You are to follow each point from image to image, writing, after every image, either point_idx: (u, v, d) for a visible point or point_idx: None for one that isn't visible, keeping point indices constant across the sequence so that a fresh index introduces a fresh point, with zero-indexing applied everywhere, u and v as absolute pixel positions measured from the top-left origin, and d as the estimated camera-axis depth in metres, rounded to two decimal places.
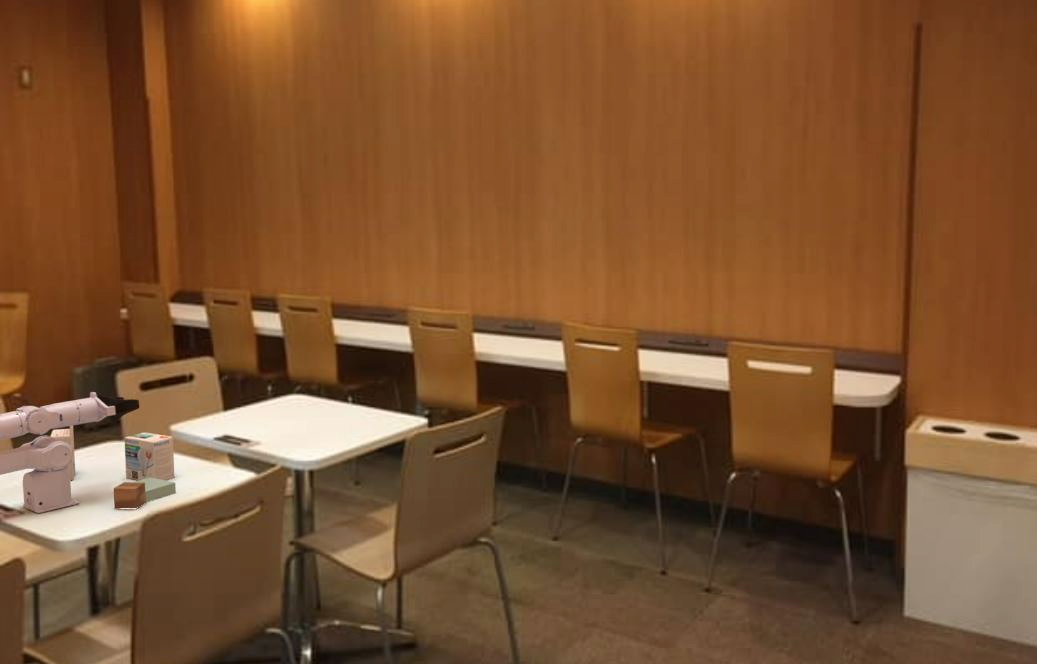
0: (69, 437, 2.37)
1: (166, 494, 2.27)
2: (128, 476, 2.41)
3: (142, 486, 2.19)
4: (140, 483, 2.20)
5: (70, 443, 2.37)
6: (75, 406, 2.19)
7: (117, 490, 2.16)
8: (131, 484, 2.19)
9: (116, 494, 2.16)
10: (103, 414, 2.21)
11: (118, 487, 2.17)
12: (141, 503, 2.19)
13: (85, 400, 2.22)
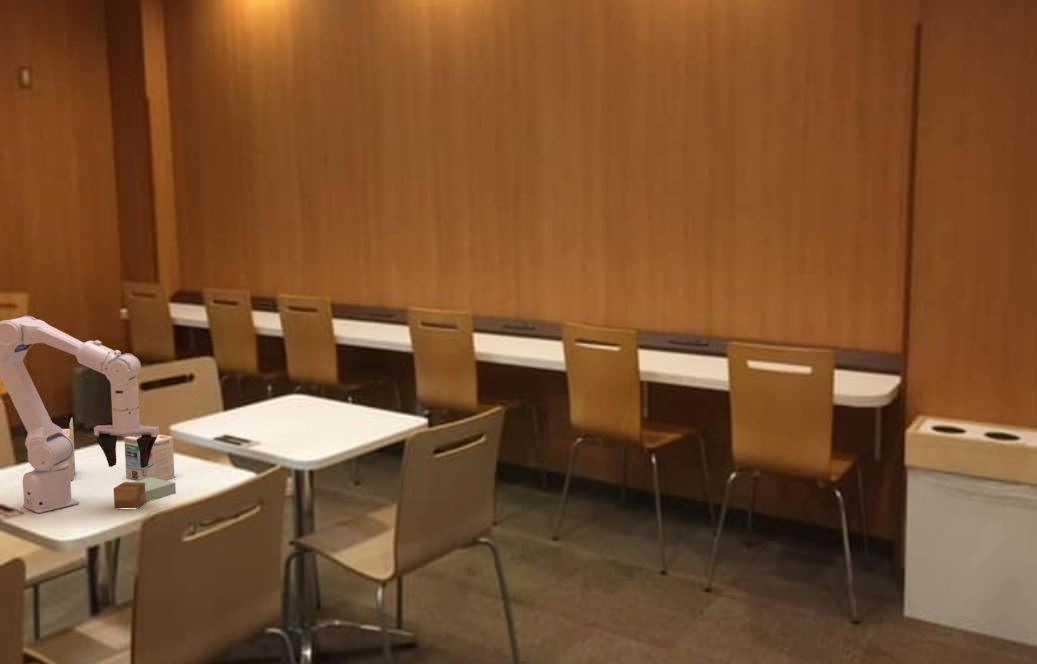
0: (69, 437, 2.37)
1: (166, 494, 2.27)
2: (128, 476, 2.41)
3: (142, 486, 2.19)
4: (140, 483, 2.20)
5: None
6: (129, 407, 2.14)
7: (117, 490, 2.16)
8: (131, 484, 2.19)
9: (116, 494, 2.16)
10: (144, 429, 2.15)
11: (118, 487, 2.17)
12: (141, 503, 2.19)
13: None
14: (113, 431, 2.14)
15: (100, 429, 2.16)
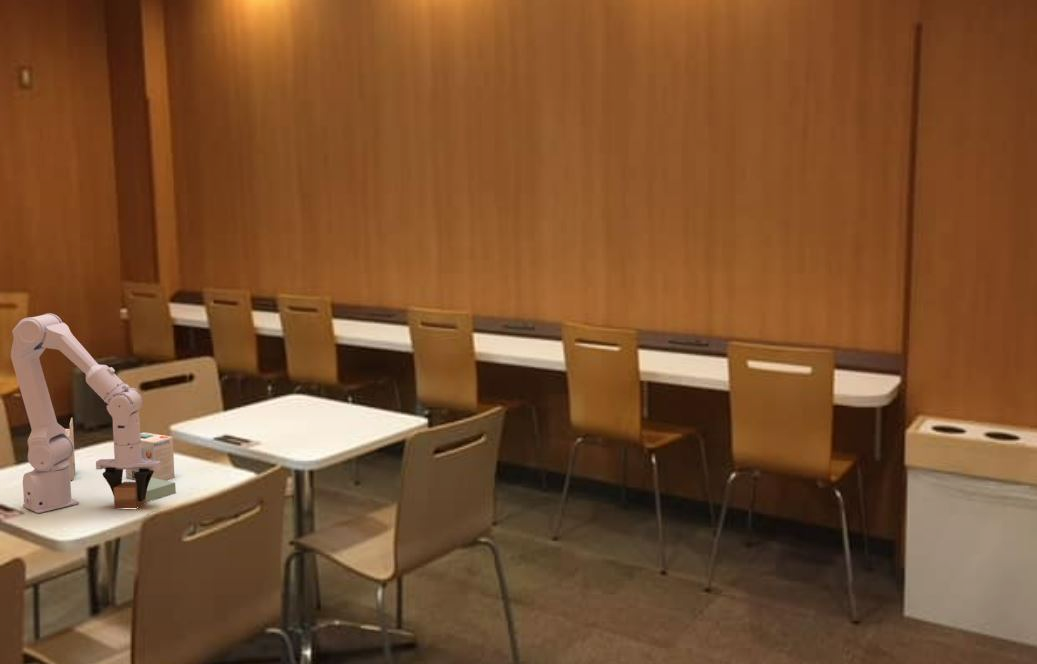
0: (69, 437, 2.37)
1: (166, 494, 2.27)
2: (128, 476, 2.41)
3: None
4: None
5: None
6: (131, 442, 2.15)
7: (117, 490, 2.16)
8: (131, 484, 2.19)
9: (116, 494, 2.16)
10: (146, 463, 2.16)
11: (118, 487, 2.17)
12: (141, 503, 2.19)
13: None
14: (115, 465, 2.15)
15: (102, 463, 2.17)
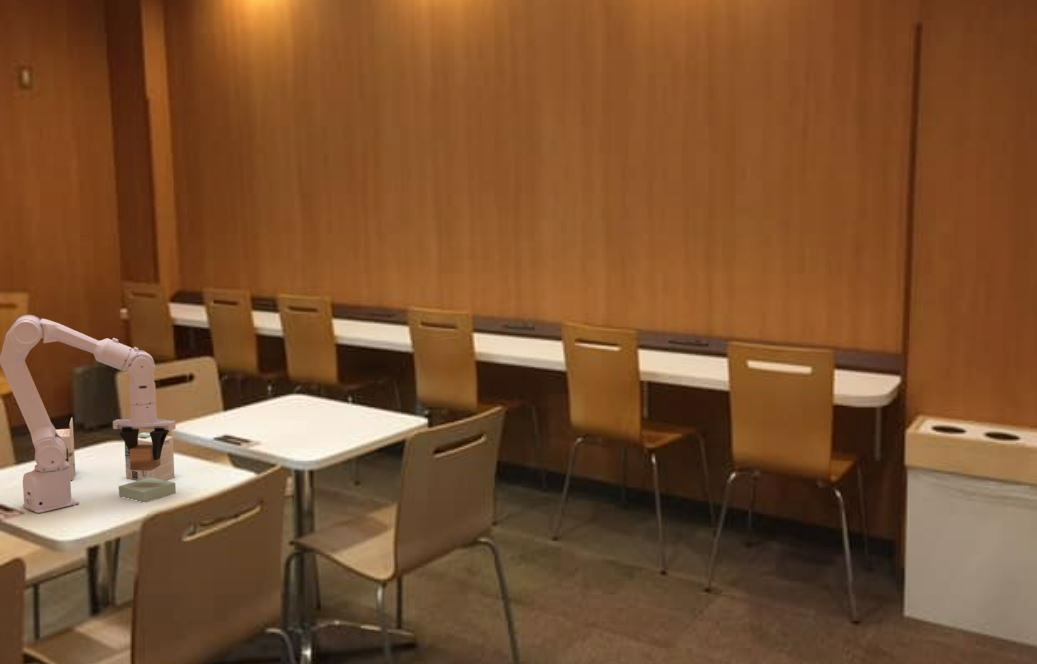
0: (69, 437, 2.37)
1: (166, 494, 2.27)
2: (128, 476, 2.41)
3: None
4: None
5: (70, 443, 2.37)
6: (152, 401, 2.23)
7: (133, 451, 2.23)
8: (146, 446, 2.26)
9: (132, 455, 2.23)
10: (161, 422, 2.24)
11: (134, 448, 2.24)
12: (156, 464, 2.26)
13: None
14: (131, 425, 2.23)
15: (119, 423, 2.24)
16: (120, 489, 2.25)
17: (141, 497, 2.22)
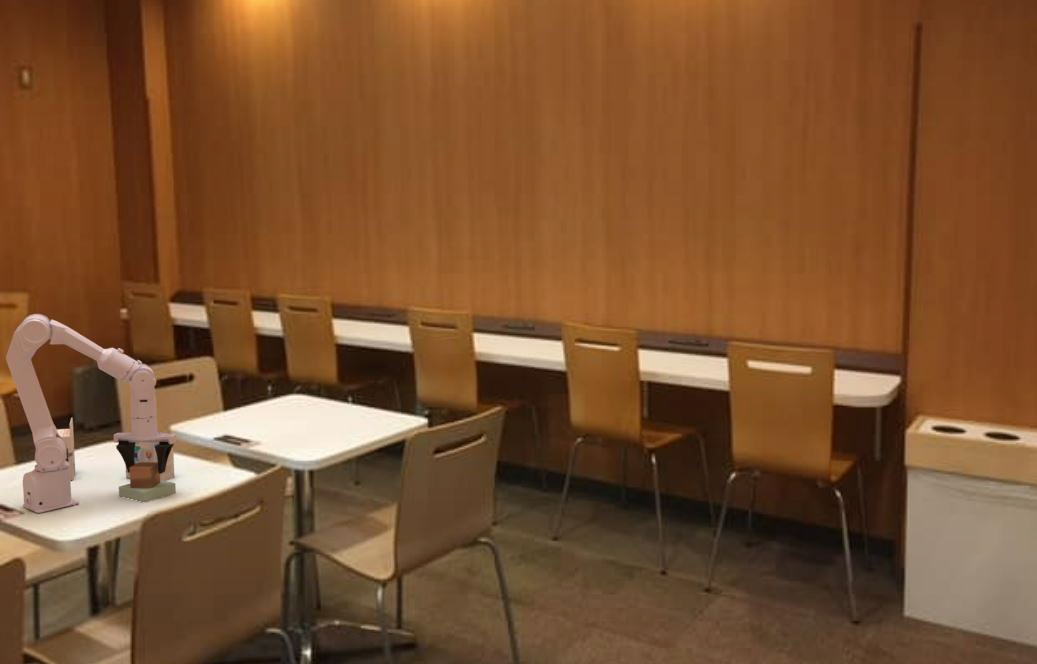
0: (69, 437, 2.37)
1: (166, 494, 2.27)
2: (128, 476, 2.41)
3: (157, 465, 2.27)
4: (155, 463, 2.28)
5: (70, 443, 2.37)
6: (152, 415, 2.24)
7: (133, 469, 2.24)
8: (146, 464, 2.26)
9: (132, 473, 2.24)
10: None
11: (134, 466, 2.24)
12: (156, 482, 2.27)
13: None
14: (132, 438, 2.23)
15: (119, 436, 2.25)
16: (120, 489, 2.25)
17: (141, 498, 2.22)
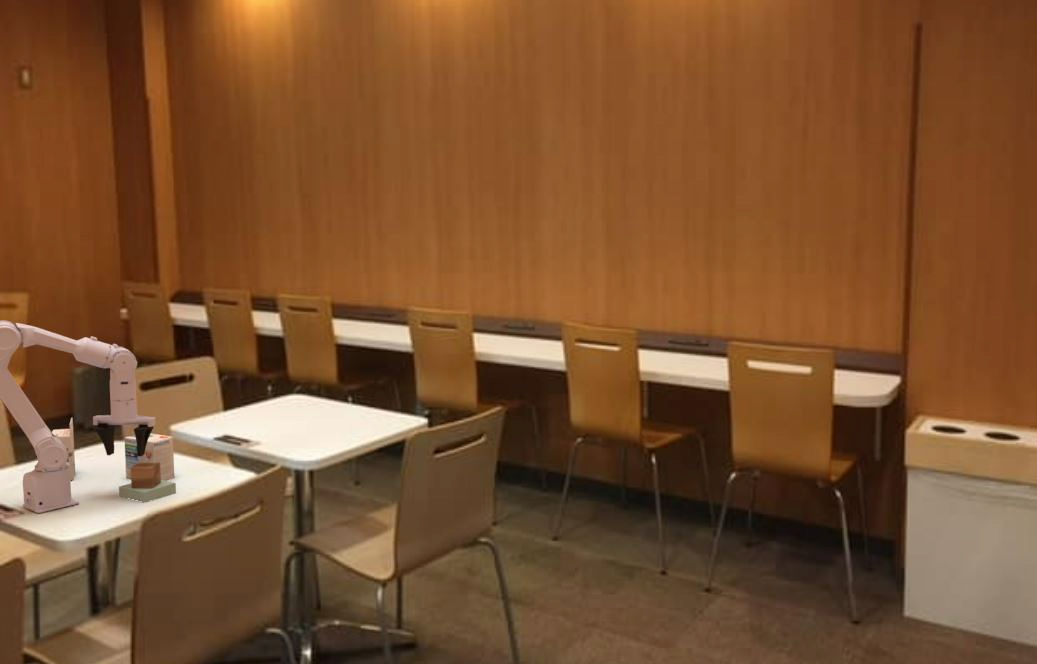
0: (69, 437, 2.37)
1: (166, 494, 2.27)
2: (128, 476, 2.41)
3: (157, 465, 2.27)
4: (155, 463, 2.28)
5: (70, 443, 2.37)
6: (133, 397, 2.23)
7: (134, 469, 2.24)
8: (147, 464, 2.26)
9: (133, 474, 2.24)
10: (141, 419, 2.24)
11: (135, 467, 2.24)
12: (157, 482, 2.27)
13: None
14: (111, 421, 2.23)
15: (99, 419, 2.24)
16: (120, 489, 2.25)
17: (141, 498, 2.22)
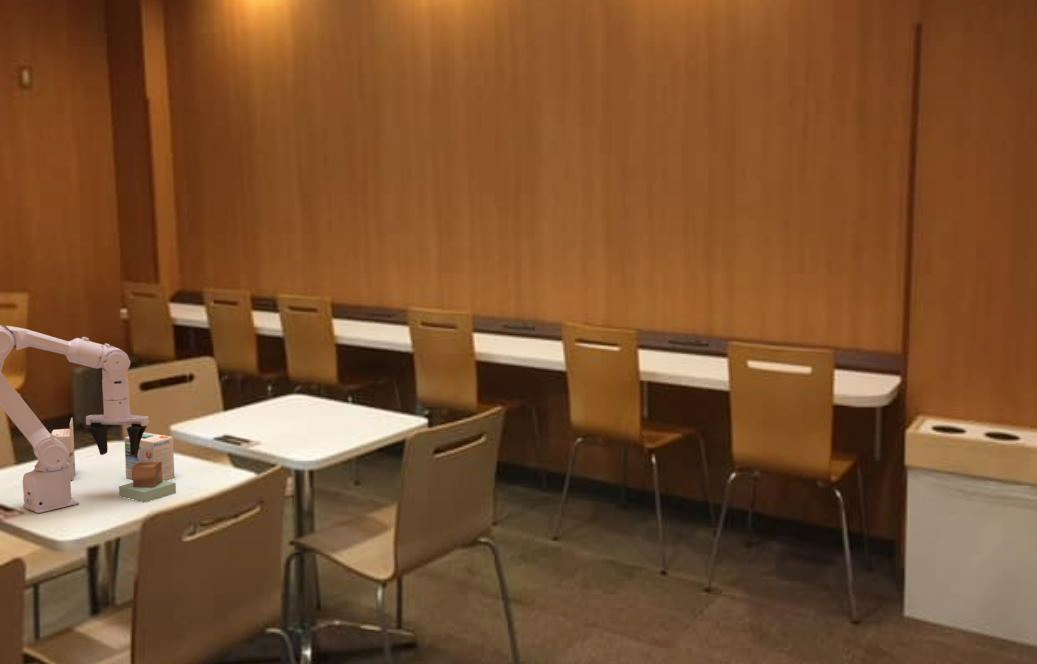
0: (69, 437, 2.37)
1: (166, 494, 2.27)
2: (128, 476, 2.41)
3: (159, 464, 2.28)
4: (157, 462, 2.28)
5: (70, 443, 2.37)
6: (126, 396, 2.24)
7: (136, 468, 2.24)
8: (149, 463, 2.27)
9: (135, 473, 2.24)
10: None
11: (136, 466, 2.25)
12: (158, 481, 2.27)
13: None
14: (104, 420, 2.23)
15: (92, 418, 2.24)
16: (120, 489, 2.25)
17: (141, 497, 2.22)
